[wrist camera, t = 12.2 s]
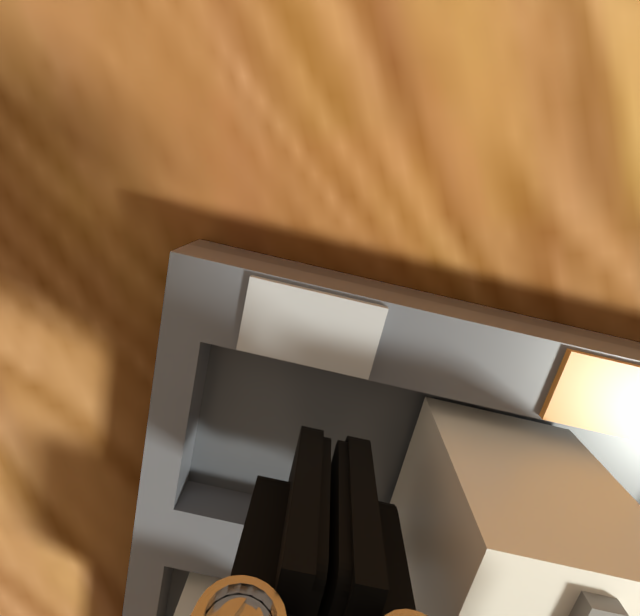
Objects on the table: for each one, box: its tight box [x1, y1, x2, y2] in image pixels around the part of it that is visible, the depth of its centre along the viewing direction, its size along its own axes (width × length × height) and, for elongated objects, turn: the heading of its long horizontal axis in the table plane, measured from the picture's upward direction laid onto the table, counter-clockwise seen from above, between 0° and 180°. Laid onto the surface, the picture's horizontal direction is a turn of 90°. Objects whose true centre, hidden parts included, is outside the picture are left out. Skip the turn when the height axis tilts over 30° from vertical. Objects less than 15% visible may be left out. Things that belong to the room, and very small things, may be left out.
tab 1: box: [390, 397, 640, 616], centre depth 10 cm, size 4×4×5 cm
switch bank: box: [122, 239, 640, 616], centre depth 13 cm, size 16×16×2 cm
